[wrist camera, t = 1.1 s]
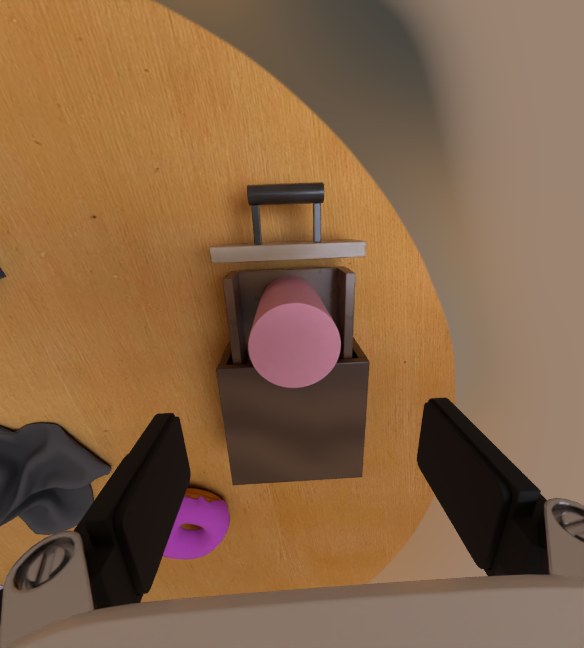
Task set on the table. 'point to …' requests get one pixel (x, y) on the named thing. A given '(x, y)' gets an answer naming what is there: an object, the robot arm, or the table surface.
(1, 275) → the tray
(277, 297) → the cylinder
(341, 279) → the drawer
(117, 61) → the table surface
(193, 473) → the table surface
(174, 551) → the donut
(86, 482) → the cloth
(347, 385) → the cabinet
